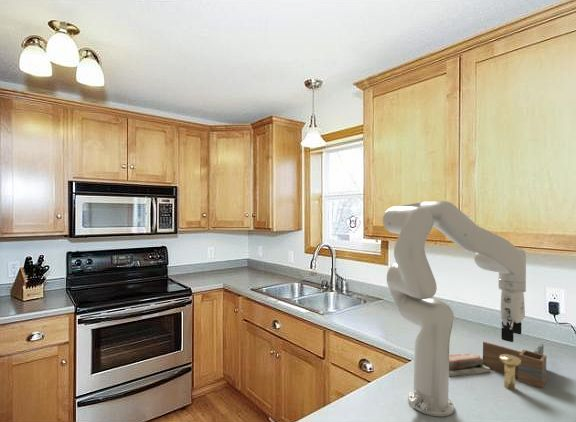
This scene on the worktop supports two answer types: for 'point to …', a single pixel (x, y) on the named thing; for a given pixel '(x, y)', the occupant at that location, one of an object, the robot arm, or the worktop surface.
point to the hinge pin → (509, 369)
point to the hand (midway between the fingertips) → (511, 336)
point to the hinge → (530, 366)
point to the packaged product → (466, 364)
